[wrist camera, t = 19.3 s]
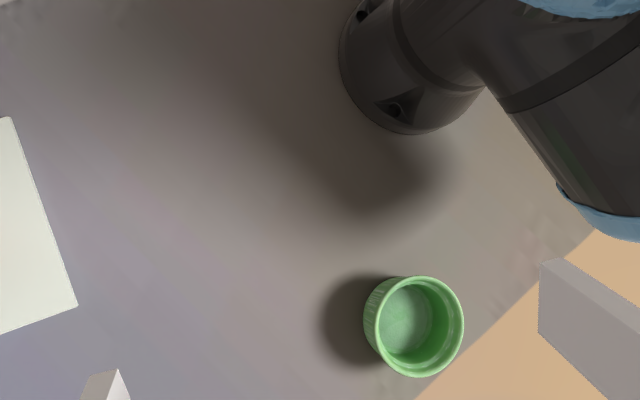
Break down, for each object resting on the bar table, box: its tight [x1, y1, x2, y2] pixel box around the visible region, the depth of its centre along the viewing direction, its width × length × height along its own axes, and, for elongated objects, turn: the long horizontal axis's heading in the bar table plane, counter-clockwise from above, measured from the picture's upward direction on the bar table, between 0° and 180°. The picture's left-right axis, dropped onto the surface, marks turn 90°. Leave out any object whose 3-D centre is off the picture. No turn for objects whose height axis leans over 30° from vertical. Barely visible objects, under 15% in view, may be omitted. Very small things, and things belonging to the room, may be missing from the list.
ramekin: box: [363, 275, 464, 378], centre depth 41 cm, size 9×9×4 cm
